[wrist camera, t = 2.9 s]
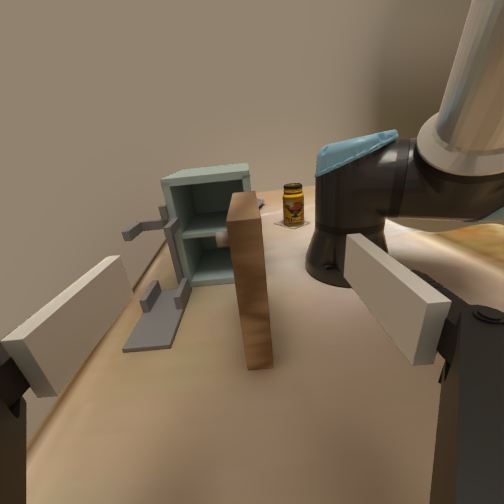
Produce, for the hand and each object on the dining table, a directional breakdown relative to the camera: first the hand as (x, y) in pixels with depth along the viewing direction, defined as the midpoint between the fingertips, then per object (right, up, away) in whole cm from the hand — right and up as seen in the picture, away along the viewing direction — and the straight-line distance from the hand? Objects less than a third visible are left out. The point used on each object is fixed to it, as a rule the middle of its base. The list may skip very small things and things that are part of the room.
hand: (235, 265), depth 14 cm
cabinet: (-7, -5, +32) cm, 33 cm away
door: (+2, -10, +20) cm, 22 cm away
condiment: (+13, +9, +60) cm, 63 cm away
